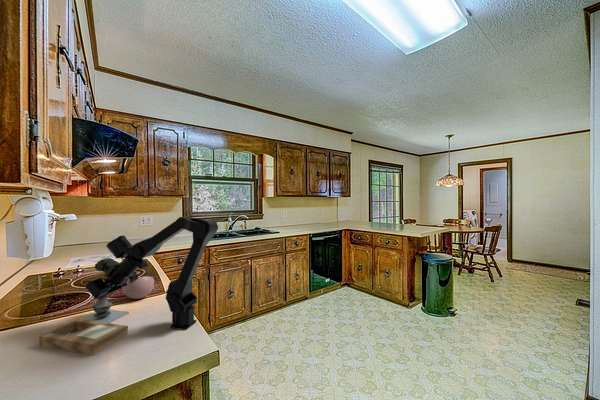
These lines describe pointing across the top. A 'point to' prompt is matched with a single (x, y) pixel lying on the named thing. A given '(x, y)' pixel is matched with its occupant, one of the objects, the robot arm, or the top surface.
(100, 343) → the puzzle board
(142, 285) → the mortar and pestle
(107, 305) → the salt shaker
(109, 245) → the robot arm
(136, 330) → the top surface
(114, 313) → the slate tile
